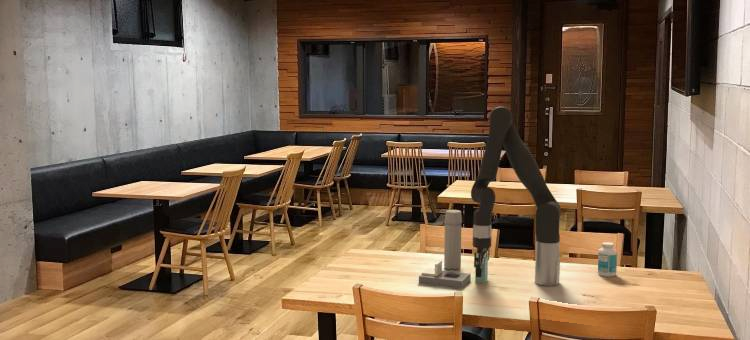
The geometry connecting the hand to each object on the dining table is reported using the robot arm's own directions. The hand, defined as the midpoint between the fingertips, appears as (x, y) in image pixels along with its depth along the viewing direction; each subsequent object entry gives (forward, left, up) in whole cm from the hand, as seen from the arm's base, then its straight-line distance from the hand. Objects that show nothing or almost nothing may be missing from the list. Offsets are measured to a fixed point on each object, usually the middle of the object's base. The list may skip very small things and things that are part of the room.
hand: (481, 274), depth 302 cm
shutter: (+18, +8, 0) cm, 20 cm away
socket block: (+13, +8, -3) cm, 15 cm away
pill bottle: (-46, -29, -3) cm, 54 cm away
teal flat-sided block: (0, 0, -3) cm, 3 cm away
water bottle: (+17, -15, -3) cm, 23 cm away
